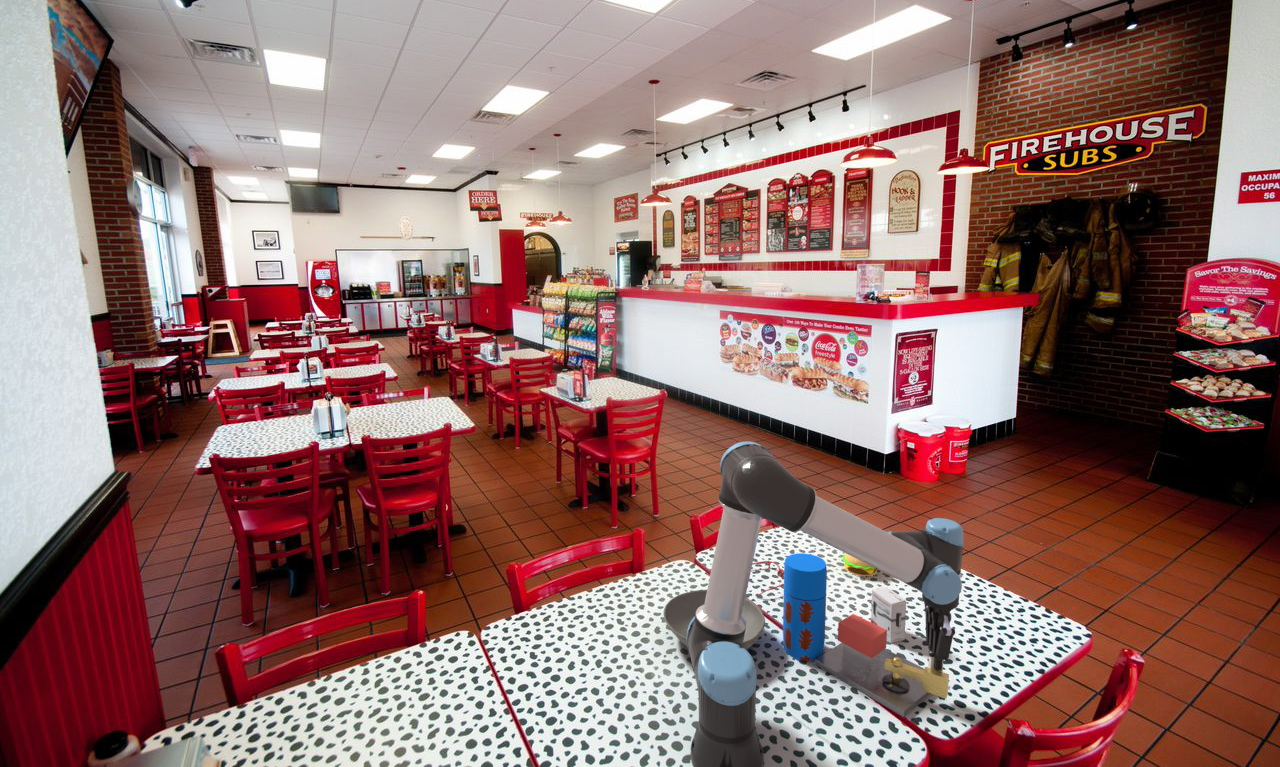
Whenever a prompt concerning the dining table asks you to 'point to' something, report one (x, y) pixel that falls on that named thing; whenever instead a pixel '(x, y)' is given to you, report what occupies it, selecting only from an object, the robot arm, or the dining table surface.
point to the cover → (862, 635)
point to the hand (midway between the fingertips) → (934, 678)
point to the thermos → (804, 606)
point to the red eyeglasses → (777, 574)
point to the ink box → (889, 613)
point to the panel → (874, 677)
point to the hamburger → (858, 566)
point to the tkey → (919, 676)
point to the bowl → (687, 604)
